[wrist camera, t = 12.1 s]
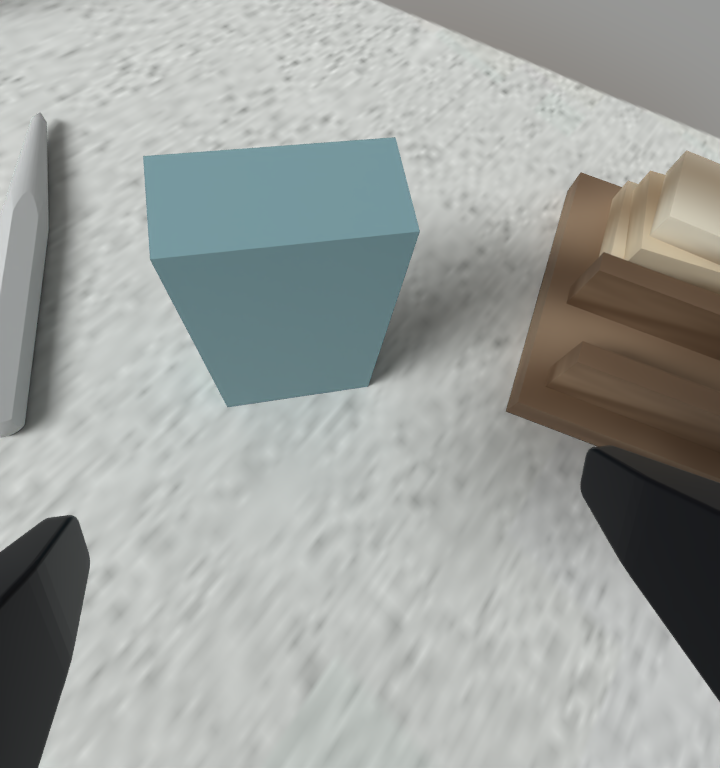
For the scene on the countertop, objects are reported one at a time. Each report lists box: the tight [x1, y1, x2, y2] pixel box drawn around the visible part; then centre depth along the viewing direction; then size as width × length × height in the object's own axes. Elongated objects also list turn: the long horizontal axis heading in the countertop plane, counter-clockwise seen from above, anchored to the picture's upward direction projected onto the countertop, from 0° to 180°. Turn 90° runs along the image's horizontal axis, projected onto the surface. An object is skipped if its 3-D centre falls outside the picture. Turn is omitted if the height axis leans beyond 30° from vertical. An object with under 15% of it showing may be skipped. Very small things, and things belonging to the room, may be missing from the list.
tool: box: [0, 113, 49, 437], centre depth 24 cm, size 17×2×2 cm, turn 5°
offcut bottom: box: [599, 181, 638, 259], centre depth 26 cm, size 5×10×1 cm, turn 70°
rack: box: [506, 173, 720, 483], centre depth 24 cm, size 14×14×4 cm
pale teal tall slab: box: [143, 137, 420, 407], centre depth 18 cm, size 3×6×12 cm, turn 101°
